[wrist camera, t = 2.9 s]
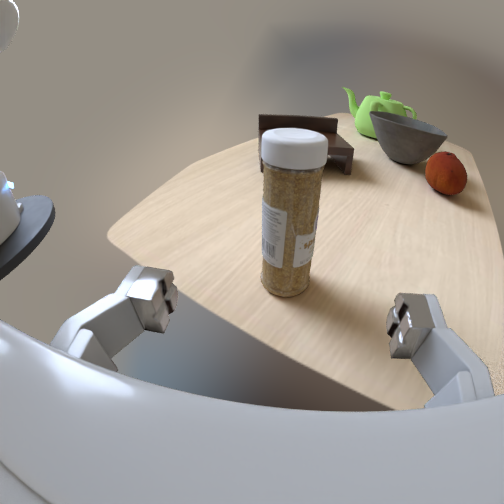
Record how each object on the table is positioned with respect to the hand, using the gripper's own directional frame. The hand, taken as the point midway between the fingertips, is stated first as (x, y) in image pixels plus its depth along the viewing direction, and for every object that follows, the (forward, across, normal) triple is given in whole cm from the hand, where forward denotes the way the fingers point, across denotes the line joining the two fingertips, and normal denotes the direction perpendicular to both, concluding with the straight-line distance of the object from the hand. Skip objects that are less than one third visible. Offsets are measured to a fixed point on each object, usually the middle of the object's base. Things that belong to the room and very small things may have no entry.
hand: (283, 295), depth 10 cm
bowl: (+55, -25, +11) cm, 62 cm away
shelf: (+45, -1, +11) cm, 47 cm away
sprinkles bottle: (+12, 0, +11) cm, 17 cm away
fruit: (+40, -29, +11) cm, 51 cm away
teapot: (+79, -24, +11) cm, 83 cm away
